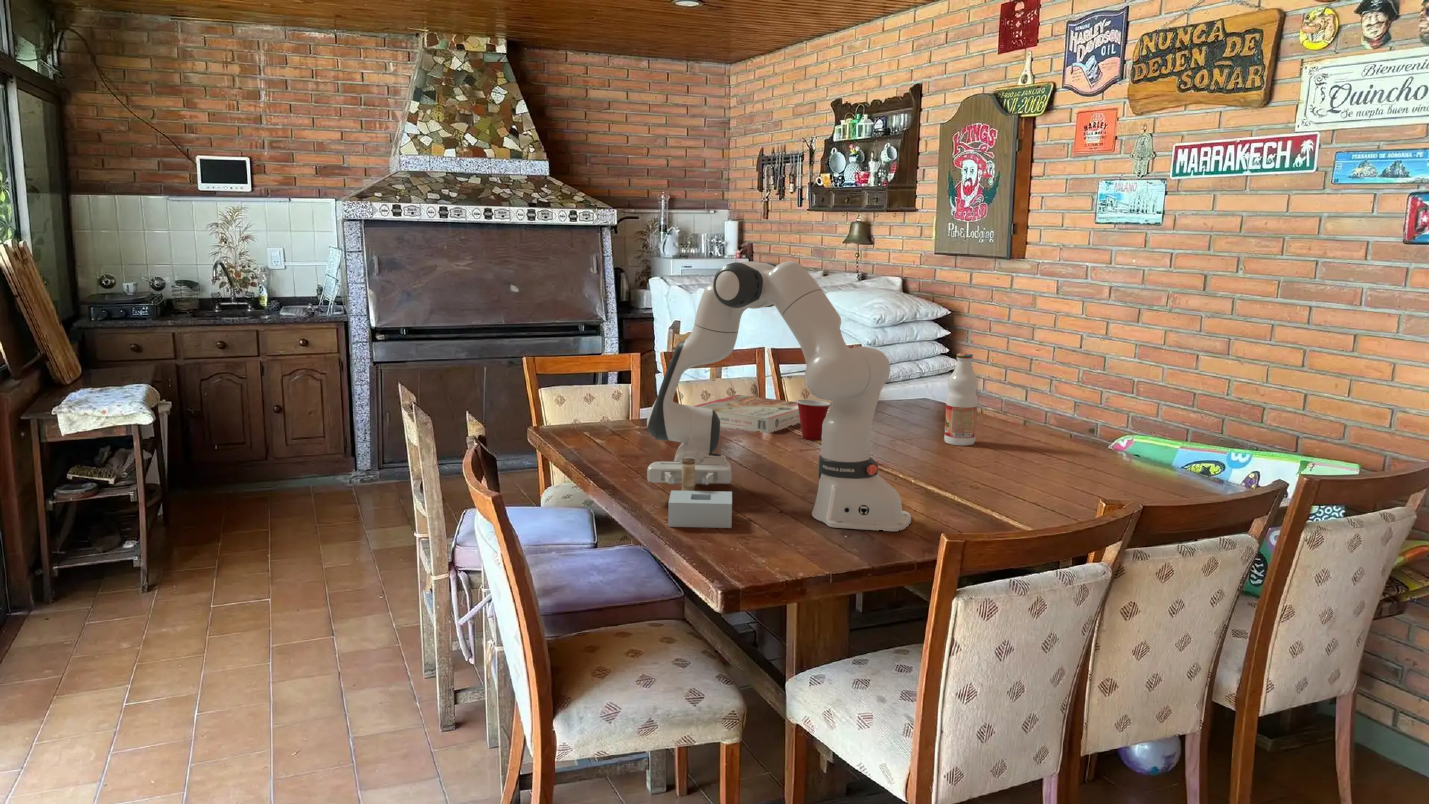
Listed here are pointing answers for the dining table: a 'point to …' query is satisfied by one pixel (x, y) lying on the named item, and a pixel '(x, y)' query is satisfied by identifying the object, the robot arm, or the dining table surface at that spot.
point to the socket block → (700, 509)
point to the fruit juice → (961, 403)
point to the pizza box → (754, 413)
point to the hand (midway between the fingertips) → (688, 481)
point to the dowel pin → (688, 474)
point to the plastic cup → (812, 417)
